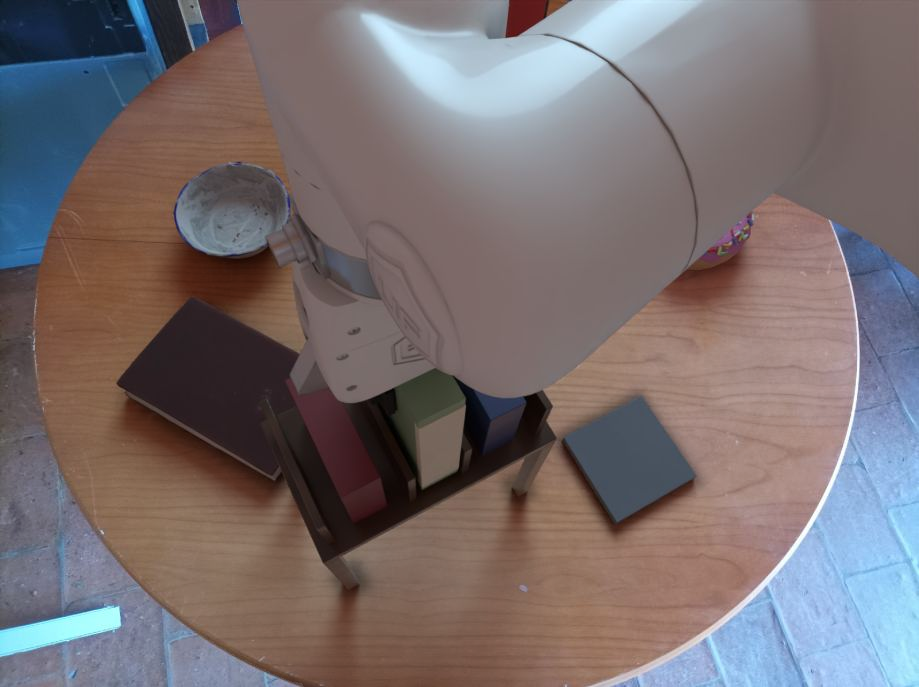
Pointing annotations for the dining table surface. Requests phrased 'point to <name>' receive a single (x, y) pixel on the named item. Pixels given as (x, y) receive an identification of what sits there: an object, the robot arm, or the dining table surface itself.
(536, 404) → the rack
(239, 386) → the book
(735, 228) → the donut
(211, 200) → the bowl
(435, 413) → the green book
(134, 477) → the dining table surface
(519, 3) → the speaker
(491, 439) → the navy book
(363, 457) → the burgundy book
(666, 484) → the mat
